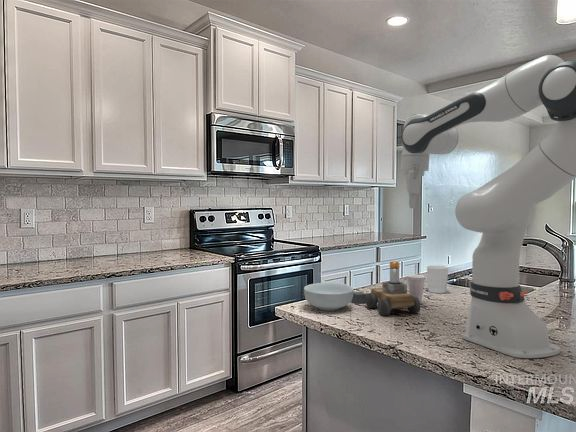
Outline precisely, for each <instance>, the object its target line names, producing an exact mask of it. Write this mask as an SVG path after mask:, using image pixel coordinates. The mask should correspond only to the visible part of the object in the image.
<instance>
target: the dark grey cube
mask: <svg viewBox="0 0 576 432" xmlns="http://www.w3.org/2000/svg"><path fill="white" fill-rule="evenodd" d="M366 294H367V292H364V291H354V292H353V298H352V300H351V302H352V303H353V304H355V305H366V303H365V296H366Z"/></svg>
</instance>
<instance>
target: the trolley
mask: <svg viewBox="0 0 576 432" xmlns="http://www.w3.org/2000/svg"><path fill="white" fill-rule="evenodd" d="M381 284H382V287H376V288H374V287H373V288H371V289H370V290H371V291H370V292H368V293H367V292H366V296H365V303H366V304H365V306H366V307H367V309H376V308H377V311H378V313H379V315H380V316H389V315H390V314H391V312H392V310H394V309H407V310H408V312H409V313H411V314H414V313H419V312H420V311H421V307H422V306H421V304H420V301H419V299H418V298H417V297H414V296H413V295H410V294H409V293H408V283H406V282H405V283H404V282H402V281H399V284H394V285H392V284H390V280H389V281H382V283H381Z"/></svg>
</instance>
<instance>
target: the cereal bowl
mask: <svg viewBox="0 0 576 432" xmlns="http://www.w3.org/2000/svg"><path fill="white" fill-rule="evenodd" d="M353 292H355V291H354V288H353V287H352V285H349V284H345V283H341V282H340V283H338V282H317V283H316V282H315V283H311V284H307V285H306V286H304V287H303V294H304V298H305V300H306V302H307V303H308V304H309V305H311V306H313V307H315V308H317V309H318V310H321V311H326V312H328V311H329V312H331V311H338V310H340V309H341V308H343V307H346V306H348V305H349V304H350V303H351V302H352V298H353Z"/></svg>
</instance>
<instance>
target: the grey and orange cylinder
mask: <svg viewBox="0 0 576 432" xmlns="http://www.w3.org/2000/svg"><path fill="white" fill-rule="evenodd" d="M389 281H390V284H392V285H394V284H399V282H400V261H389Z"/></svg>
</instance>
